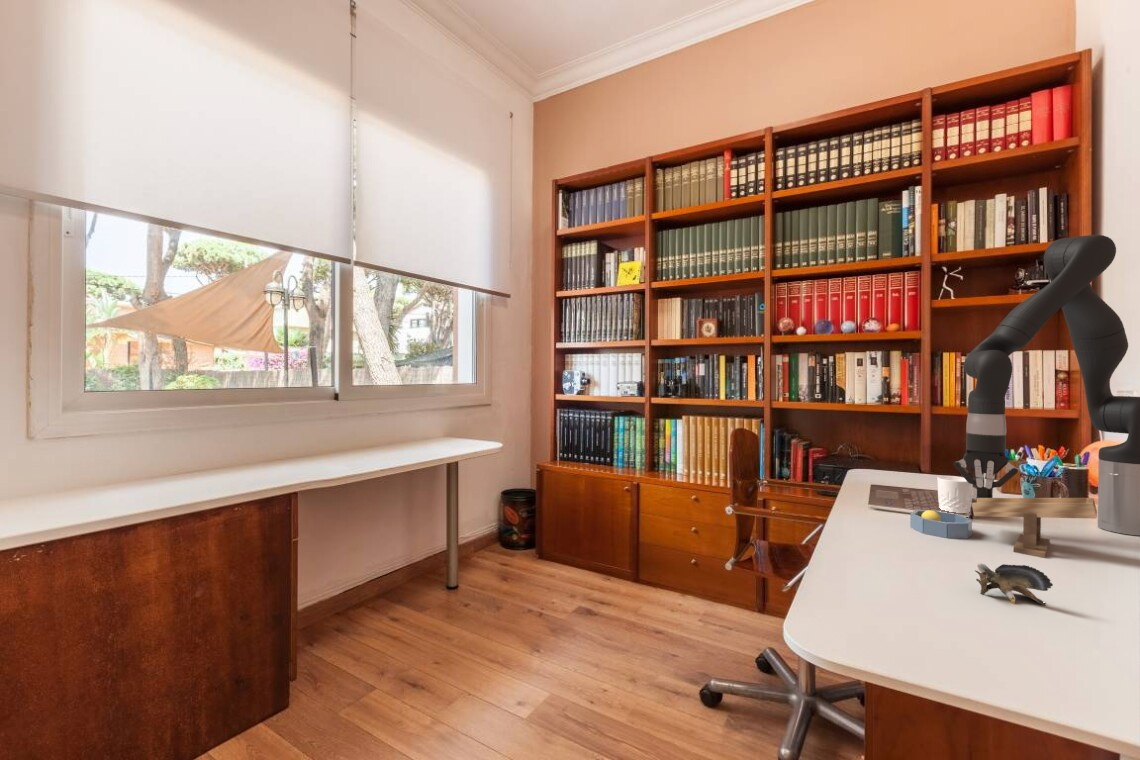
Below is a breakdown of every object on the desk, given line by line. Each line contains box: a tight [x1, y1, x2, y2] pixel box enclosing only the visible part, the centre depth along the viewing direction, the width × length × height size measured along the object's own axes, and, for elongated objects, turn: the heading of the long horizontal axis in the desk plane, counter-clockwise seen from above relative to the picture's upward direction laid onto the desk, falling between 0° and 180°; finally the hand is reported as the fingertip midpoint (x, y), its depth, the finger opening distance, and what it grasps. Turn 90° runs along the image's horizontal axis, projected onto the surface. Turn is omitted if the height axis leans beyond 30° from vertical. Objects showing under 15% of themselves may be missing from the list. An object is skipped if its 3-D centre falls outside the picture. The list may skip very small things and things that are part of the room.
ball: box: [921, 509, 941, 521], centre depth 127 cm, size 4×4×4 cm
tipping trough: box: [971, 497, 1098, 520], centre depth 116 cm, size 20×13×3 cm, turn 43°
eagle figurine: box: [974, 562, 1054, 606], centre depth 88 cm, size 8×7×9 cm
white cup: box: [936, 475, 974, 513], centre depth 140 cm, size 8×8×10 cm
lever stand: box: [1012, 512, 1051, 559], centre depth 113 cm, size 5×13×9 cm, turn 133°
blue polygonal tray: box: [910, 509, 973, 539], centre depth 126 cm, size 12×12×4 cm
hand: (984, 502), depth 124 cm, fingers closed
